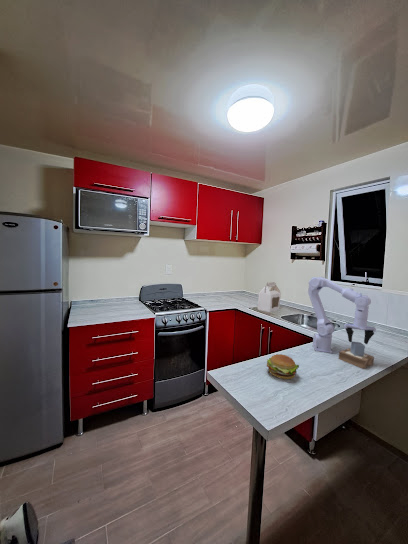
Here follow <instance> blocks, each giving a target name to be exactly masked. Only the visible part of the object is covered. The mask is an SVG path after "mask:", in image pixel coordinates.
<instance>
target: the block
mask: <svg viewBox="0 0 408 544" xmlns="http://www.w3.org/2000/svg"><path fill="white" fill-rule="evenodd" d="M350 343H351V345H350V348H351V351H350V352H351V353H352V354H353V355H354V356H362V357H364V353H365V348H366V344H363V343H362V342H359V341H352V342H350Z"/></svg>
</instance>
